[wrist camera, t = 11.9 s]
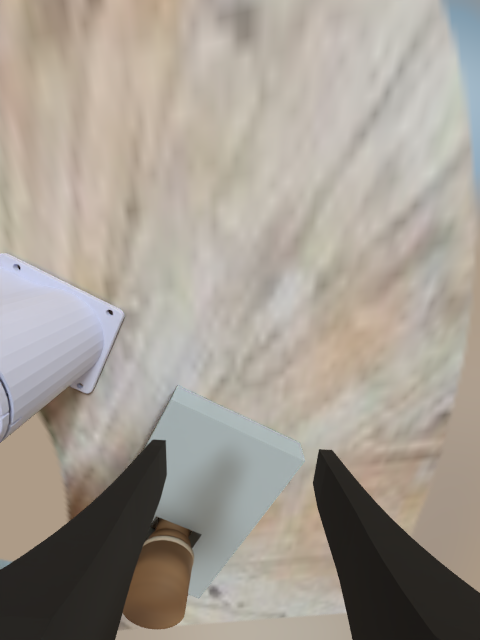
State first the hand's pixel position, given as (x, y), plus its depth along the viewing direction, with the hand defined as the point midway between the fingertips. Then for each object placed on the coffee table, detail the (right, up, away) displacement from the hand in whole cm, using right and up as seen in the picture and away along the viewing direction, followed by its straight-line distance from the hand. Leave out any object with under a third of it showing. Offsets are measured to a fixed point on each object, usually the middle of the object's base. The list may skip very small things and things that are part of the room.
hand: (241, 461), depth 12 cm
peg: (-7, -13, +14) cm, 20 cm away
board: (-5, -10, +13) cm, 17 cm away
